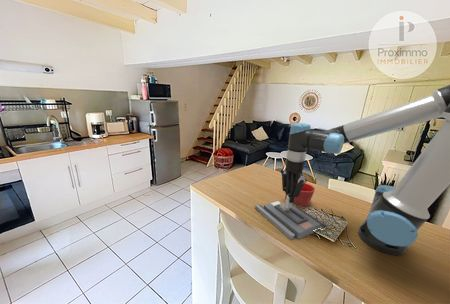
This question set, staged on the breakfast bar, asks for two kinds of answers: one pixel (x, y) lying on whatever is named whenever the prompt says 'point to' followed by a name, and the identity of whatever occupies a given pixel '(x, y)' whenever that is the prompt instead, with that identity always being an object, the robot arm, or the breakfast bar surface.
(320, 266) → the breakfast bar surface
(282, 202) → the lever
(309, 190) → the flower pot
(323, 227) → the long gray bar
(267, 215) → the grey long bar
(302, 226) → the breaker panel
